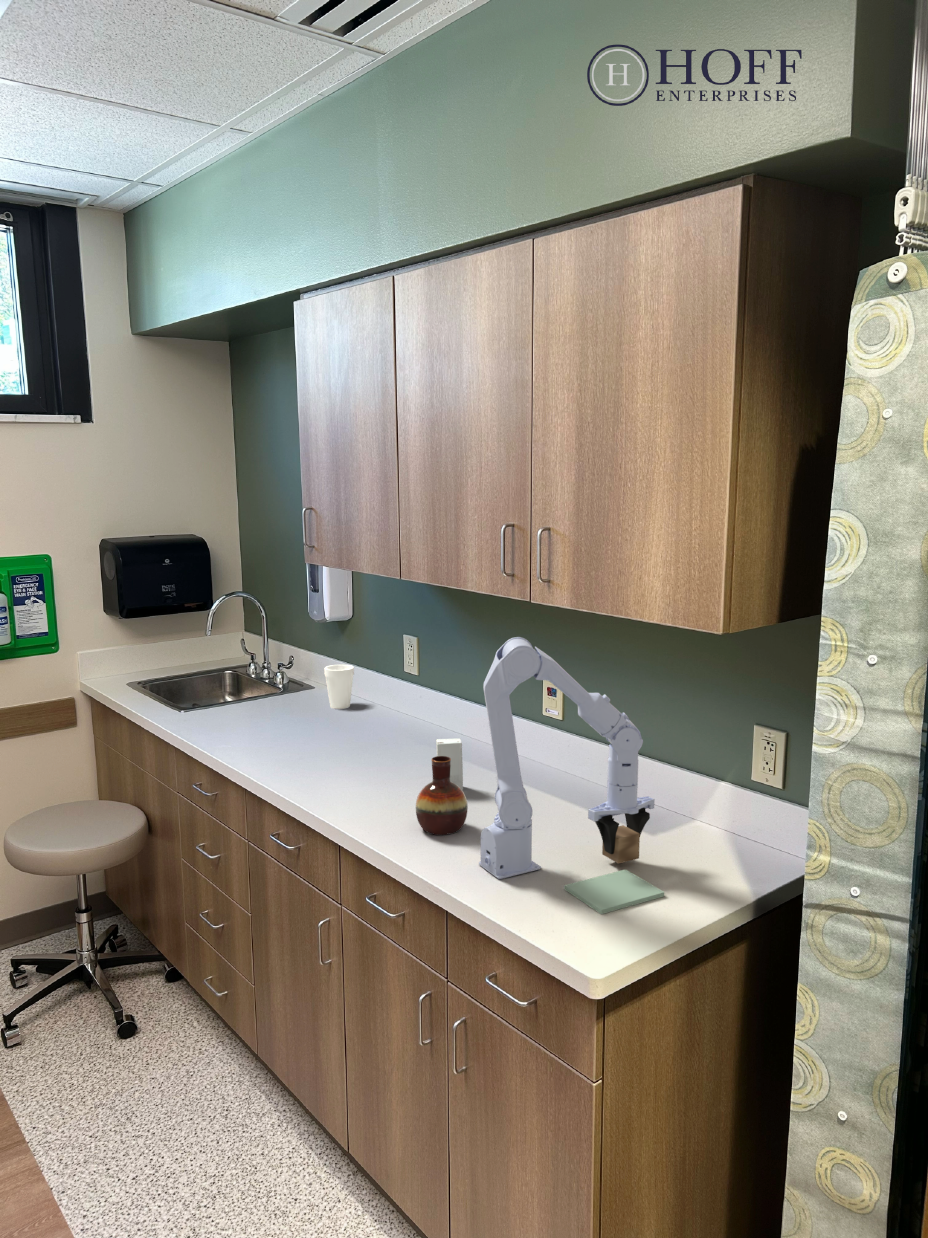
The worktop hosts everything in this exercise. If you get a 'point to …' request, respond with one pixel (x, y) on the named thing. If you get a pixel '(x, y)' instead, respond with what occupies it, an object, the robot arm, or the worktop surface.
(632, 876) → the sage board
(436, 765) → the vase
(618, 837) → the walnut block
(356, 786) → the worktop surface
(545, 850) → the worktop surface
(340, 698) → the foam cup
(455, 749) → the skincare box
